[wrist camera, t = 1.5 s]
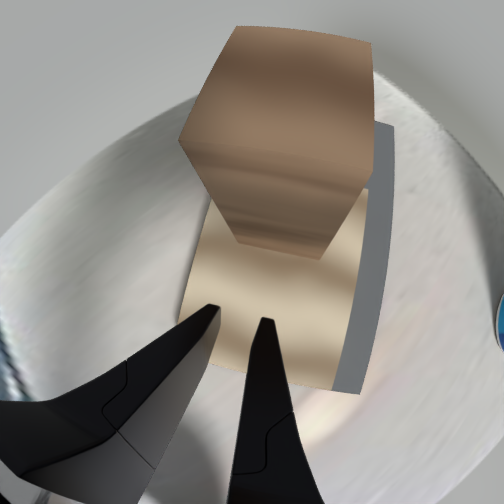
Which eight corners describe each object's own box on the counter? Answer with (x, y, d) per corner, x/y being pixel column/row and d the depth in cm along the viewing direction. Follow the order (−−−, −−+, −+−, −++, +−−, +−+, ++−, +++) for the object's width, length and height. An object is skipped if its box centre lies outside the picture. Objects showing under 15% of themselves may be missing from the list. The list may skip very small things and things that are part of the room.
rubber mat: (358, 393, 20) (359, 394, 19) (181, 353, 22) (179, 353, 22) (393, 128, 25) (393, 126, 24) (253, 100, 27) (252, 99, 27)
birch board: (326, 383, 20) (331, 390, 18) (180, 348, 22) (170, 350, 20) (361, 200, 23) (368, 189, 21) (227, 174, 25) (223, 161, 23)
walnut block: (319, 260, 20) (372, 171, 7) (238, 243, 21) (178, 140, 8) (333, 175, 21) (370, 43, 9) (259, 161, 22) (236, 25, 10)
